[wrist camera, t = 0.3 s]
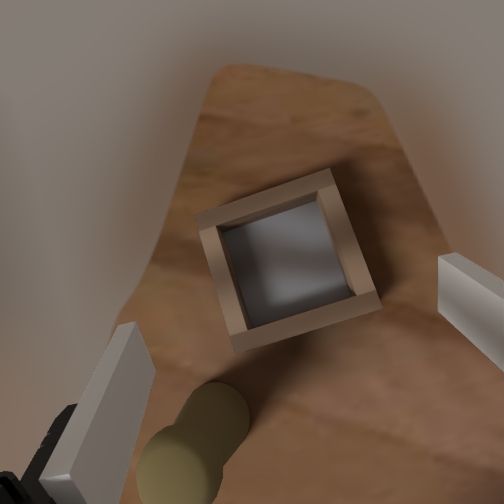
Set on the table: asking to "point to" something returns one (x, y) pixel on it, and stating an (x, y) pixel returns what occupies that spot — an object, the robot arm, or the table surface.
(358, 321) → the table surface
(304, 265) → the wooden tray
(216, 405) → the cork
